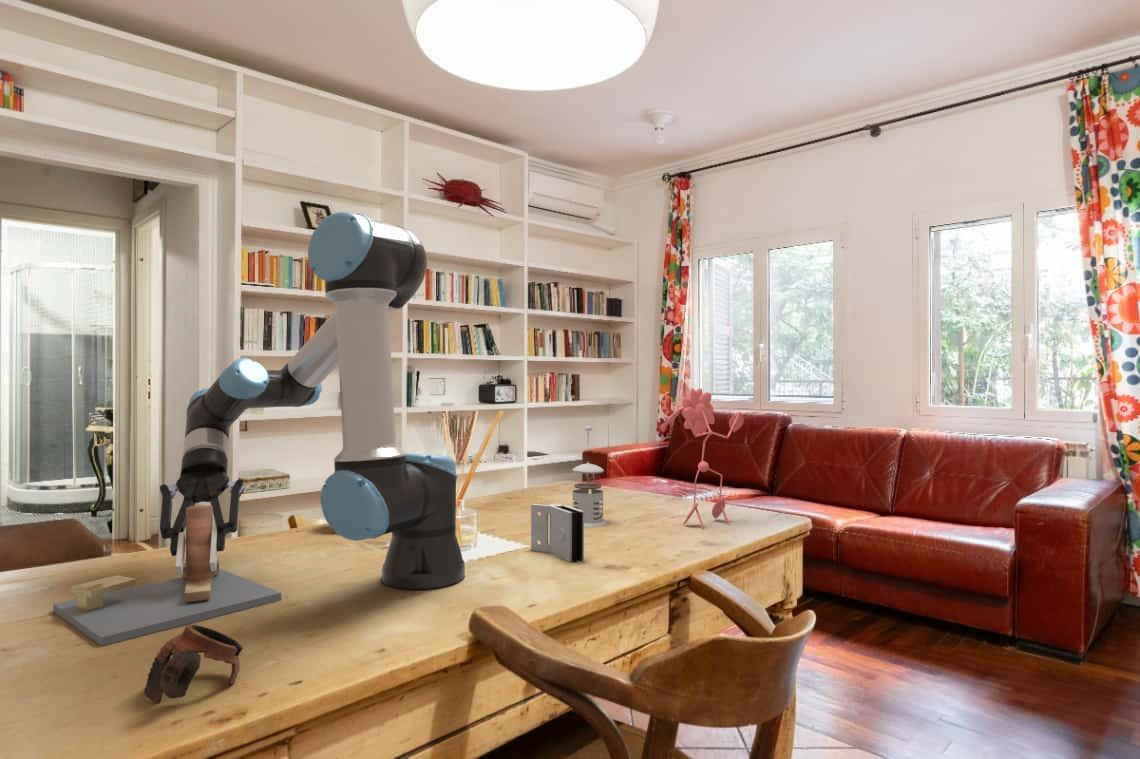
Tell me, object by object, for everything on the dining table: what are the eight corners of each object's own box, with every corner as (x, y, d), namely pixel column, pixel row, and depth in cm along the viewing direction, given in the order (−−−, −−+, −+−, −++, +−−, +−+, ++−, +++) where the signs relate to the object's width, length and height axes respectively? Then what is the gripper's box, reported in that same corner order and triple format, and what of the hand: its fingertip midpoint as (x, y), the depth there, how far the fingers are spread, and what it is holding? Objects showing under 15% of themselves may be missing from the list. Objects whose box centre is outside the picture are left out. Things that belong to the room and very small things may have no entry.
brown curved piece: (150, 681, 86) (189, 616, 89) (222, 711, 87) (258, 646, 90) (114, 699, 75) (159, 624, 77) (197, 733, 76) (239, 658, 78)
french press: (565, 526, 174) (566, 426, 174) (573, 517, 185) (573, 423, 185) (604, 528, 172) (605, 427, 172) (609, 518, 184) (610, 424, 184)
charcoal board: (281, 599, 116) (281, 592, 116) (101, 646, 96) (101, 637, 96) (221, 575, 130) (221, 569, 130) (53, 611, 109) (53, 603, 109)
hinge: (529, 550, 150) (530, 504, 150) (548, 546, 153) (548, 501, 153) (573, 563, 140) (574, 513, 140) (592, 558, 143) (592, 510, 143)
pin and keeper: (215, 576, 125) (215, 554, 125) (91, 613, 105) (91, 587, 105) (195, 573, 127) (195, 551, 127) (70, 608, 107) (71, 582, 107)
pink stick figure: (752, 520, 182) (750, 387, 182) (682, 533, 167) (680, 388, 167) (709, 512, 194) (707, 387, 195) (639, 523, 179) (638, 388, 180)
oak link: (183, 571, 126) (183, 498, 126) (219, 568, 129) (219, 496, 129) (176, 603, 109) (176, 518, 109) (217, 598, 111) (218, 515, 111)
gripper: (257, 468, 135) (255, 574, 119) (154, 474, 128) (138, 587, 113) (255, 442, 130) (252, 550, 114) (148, 448, 123) (130, 562, 108)
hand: (196, 568), depth 114 cm, fingers open, 4 cm apart
